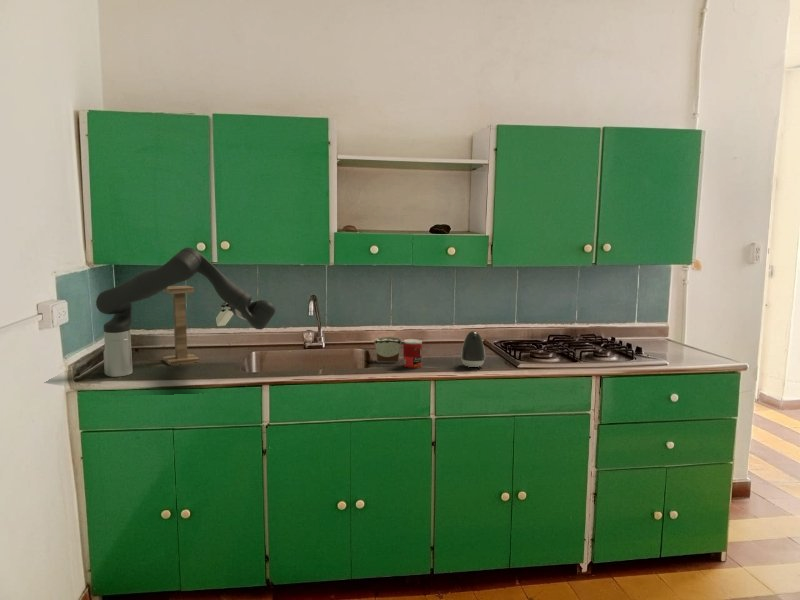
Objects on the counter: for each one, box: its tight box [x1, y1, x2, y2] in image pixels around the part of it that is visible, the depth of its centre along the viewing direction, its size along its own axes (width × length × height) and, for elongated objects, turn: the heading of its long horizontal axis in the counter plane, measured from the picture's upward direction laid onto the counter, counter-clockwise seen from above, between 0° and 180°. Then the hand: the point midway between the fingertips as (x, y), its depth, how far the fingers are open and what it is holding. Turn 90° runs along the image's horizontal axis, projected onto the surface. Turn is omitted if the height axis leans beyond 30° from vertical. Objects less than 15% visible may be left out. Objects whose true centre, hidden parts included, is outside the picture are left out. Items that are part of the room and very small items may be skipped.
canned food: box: [402, 338, 423, 369], centre depth 240 cm, size 8×8×11 cm
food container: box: [373, 336, 403, 363], centre depth 250 cm, size 12×6×10 cm, turn 92°
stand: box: [162, 285, 201, 367], centre depth 244 cm, size 12×12×32 cm
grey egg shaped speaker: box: [460, 330, 486, 368], centre depth 240 cm, size 10×10×15 cm
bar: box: [215, 309, 234, 327], centre depth 235 cm, size 21×4×4 cm, turn 35°
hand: (229, 304), depth 232 cm, fingers closed on bar, 3 cm apart
